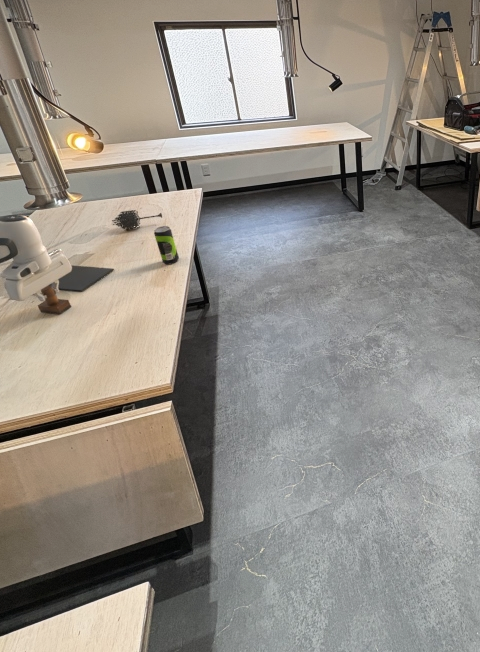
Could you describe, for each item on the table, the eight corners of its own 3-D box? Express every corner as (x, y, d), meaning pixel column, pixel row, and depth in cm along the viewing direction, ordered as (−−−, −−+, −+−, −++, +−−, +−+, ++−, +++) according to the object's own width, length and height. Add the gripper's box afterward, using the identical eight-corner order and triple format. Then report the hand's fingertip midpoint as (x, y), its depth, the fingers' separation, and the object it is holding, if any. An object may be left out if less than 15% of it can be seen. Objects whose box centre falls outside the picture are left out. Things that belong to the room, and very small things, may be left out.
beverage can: (182, 258, 175) (173, 226, 168) (172, 265, 170) (163, 232, 163) (169, 257, 176) (160, 225, 170) (159, 264, 171) (149, 231, 164)
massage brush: (163, 227, 205) (158, 209, 200) (113, 235, 197) (106, 217, 193) (164, 220, 212) (159, 203, 208) (116, 228, 205) (110, 210, 201)
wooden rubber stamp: (40, 312, 142) (30, 290, 138) (52, 304, 146) (42, 283, 142) (60, 314, 141) (50, 292, 137) (71, 306, 145) (61, 285, 141)
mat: (32, 287, 157) (31, 285, 157) (68, 266, 171) (67, 264, 171) (82, 292, 153) (81, 290, 153) (114, 270, 167) (113, 268, 167)
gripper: (53, 246, 145) (67, 279, 151) (-6, 276, 127) (14, 313, 133) (68, 247, 144) (82, 280, 150) (11, 278, 126) (30, 314, 132)
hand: (49, 296), depth 141 cm, fingers closed on wooden rubber stamp, 3 cm apart
